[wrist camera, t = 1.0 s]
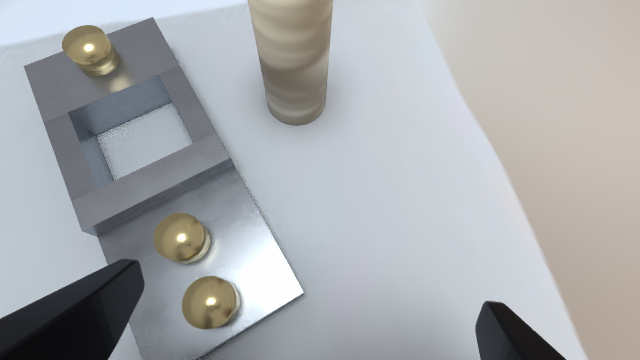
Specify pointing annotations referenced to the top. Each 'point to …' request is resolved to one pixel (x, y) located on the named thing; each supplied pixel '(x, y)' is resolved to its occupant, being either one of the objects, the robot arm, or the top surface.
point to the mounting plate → (160, 194)
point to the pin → (293, 55)
